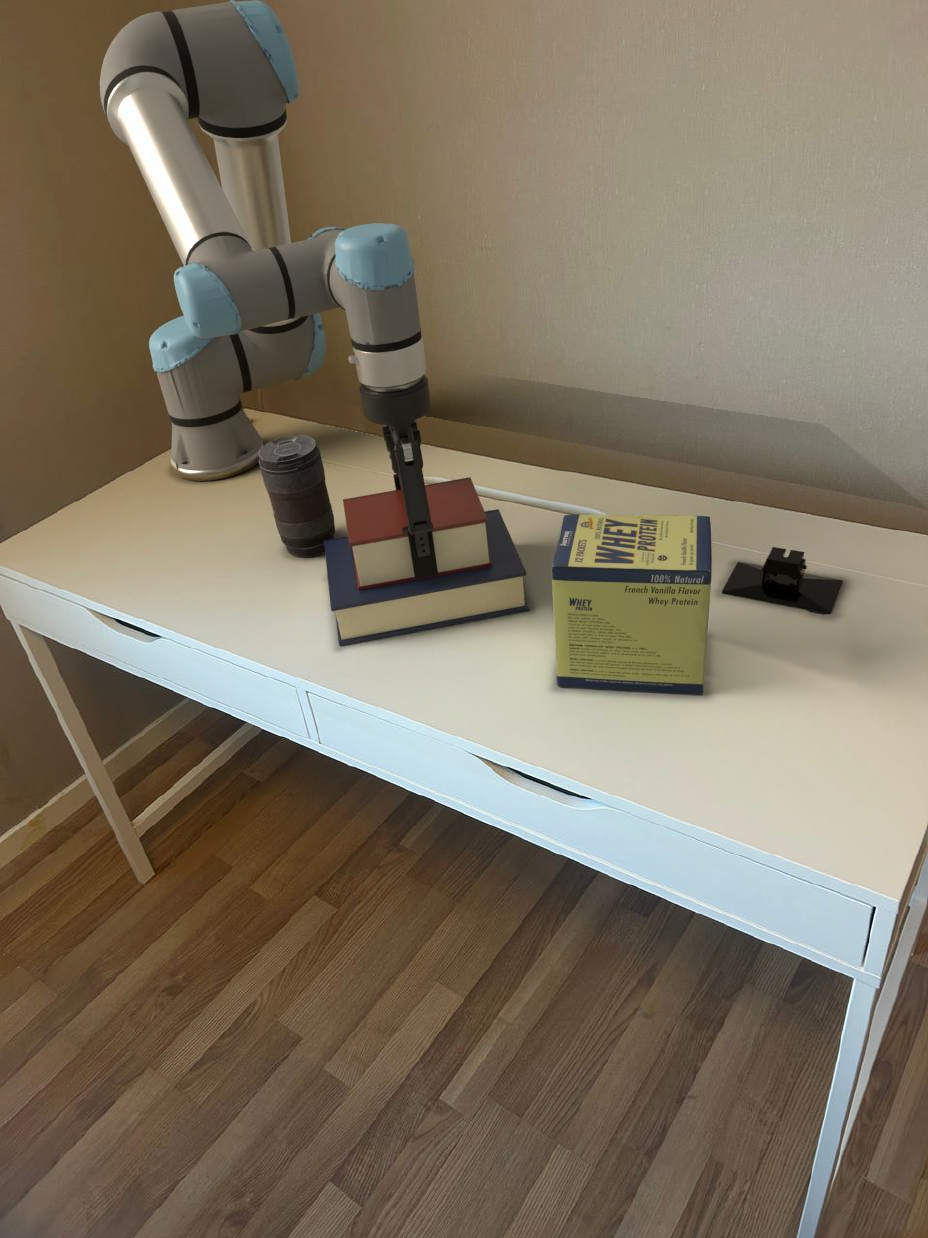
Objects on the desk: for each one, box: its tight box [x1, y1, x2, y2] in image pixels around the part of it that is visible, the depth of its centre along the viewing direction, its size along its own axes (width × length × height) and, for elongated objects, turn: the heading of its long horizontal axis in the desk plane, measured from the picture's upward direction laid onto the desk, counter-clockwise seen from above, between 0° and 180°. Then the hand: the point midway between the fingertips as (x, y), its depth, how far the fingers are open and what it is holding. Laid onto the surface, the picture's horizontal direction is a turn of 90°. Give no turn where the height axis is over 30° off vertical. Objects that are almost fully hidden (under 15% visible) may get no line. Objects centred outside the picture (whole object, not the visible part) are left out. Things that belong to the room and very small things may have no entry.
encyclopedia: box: [324, 508, 530, 647], centre depth 116 cm, size 16×23×6 cm
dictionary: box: [342, 476, 492, 590], centre depth 112 cm, size 11×16×6 cm
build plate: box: [721, 546, 844, 616], centre depth 109 cm, size 12×7×5 cm, turn 61°
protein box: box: [550, 514, 713, 696], centre depth 97 cm, size 10×16×16 cm
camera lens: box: [258, 434, 336, 558], centre depth 126 cm, size 8×8×15 cm
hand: (418, 546), depth 113 cm, fingers open, 13 cm apart
